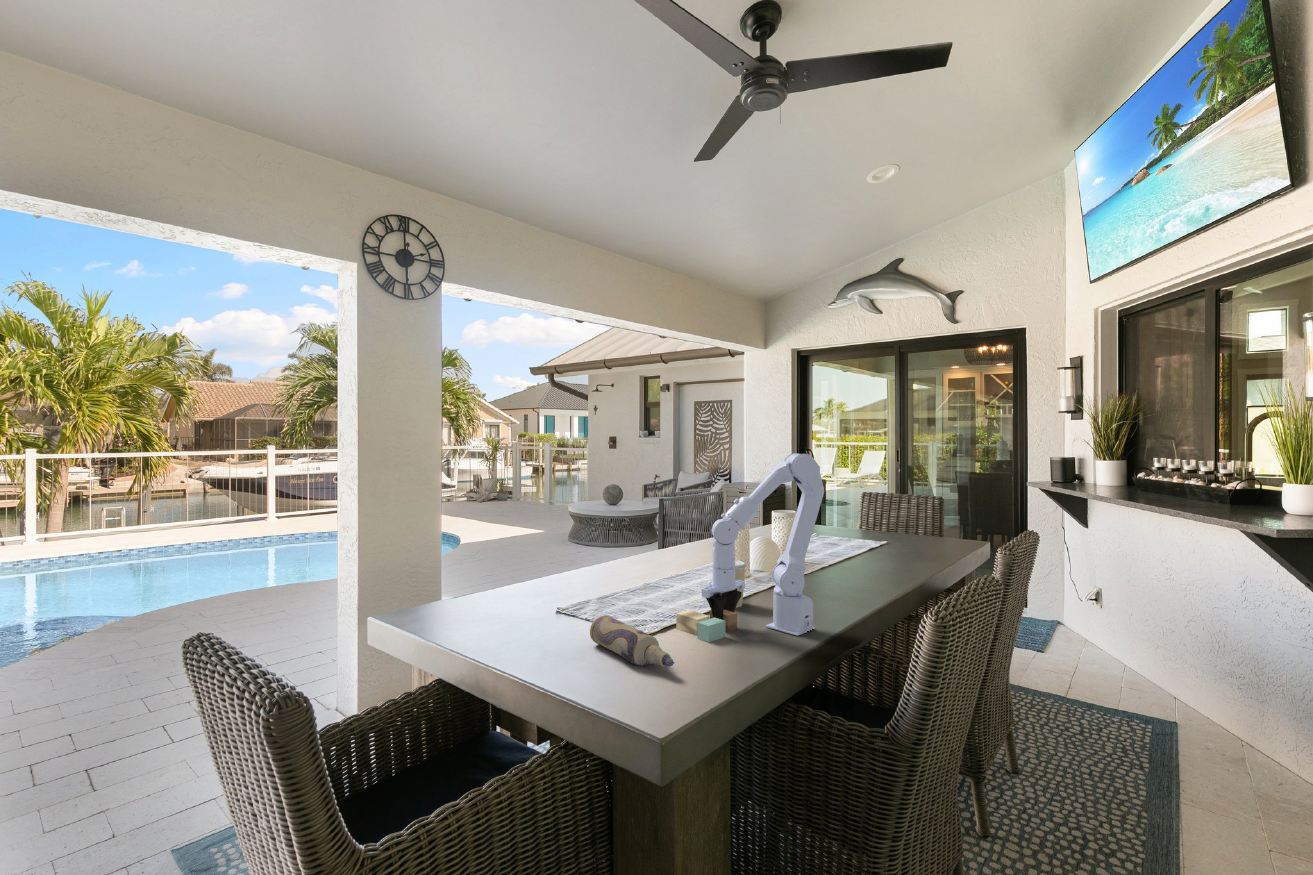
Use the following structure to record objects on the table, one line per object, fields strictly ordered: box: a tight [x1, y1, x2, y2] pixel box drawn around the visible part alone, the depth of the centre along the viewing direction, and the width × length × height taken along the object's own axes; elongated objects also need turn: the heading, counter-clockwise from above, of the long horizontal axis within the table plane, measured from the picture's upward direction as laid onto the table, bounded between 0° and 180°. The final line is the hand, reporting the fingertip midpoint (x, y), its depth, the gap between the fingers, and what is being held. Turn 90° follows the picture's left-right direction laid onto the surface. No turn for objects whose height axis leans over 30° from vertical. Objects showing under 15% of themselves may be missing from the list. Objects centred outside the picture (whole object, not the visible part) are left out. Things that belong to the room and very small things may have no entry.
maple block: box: [675, 609, 710, 636], centre depth 148 cm, size 7×4×4 cm, turn 43°
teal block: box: [697, 618, 726, 643], centre depth 143 cm, size 6×4×4 cm, turn 133°
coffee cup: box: [735, 559, 747, 609], centre depth 172 cm, size 9×9×12 cm
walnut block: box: [709, 610, 738, 633], centre depth 150 cm, size 6×4×4 cm, turn 44°
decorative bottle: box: [589, 614, 675, 668], centre depth 128 cm, size 26×8×7 cm, turn 37°
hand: (723, 621), depth 150 cm, fingers closed on walnut block, 3 cm apart
